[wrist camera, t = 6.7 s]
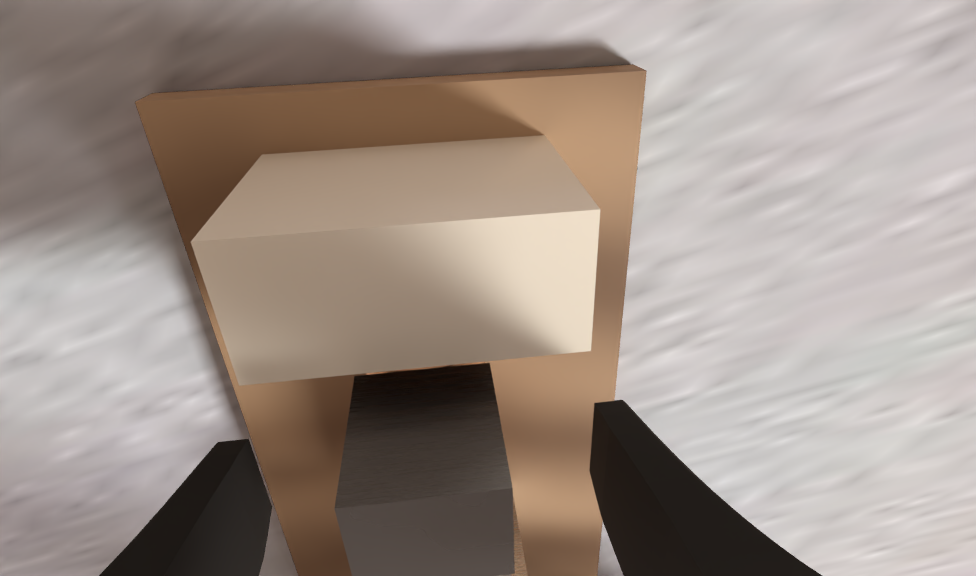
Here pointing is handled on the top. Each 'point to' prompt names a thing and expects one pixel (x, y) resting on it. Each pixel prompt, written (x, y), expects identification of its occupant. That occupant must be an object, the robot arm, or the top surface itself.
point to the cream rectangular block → (401, 259)
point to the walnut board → (517, 382)
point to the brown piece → (426, 475)
